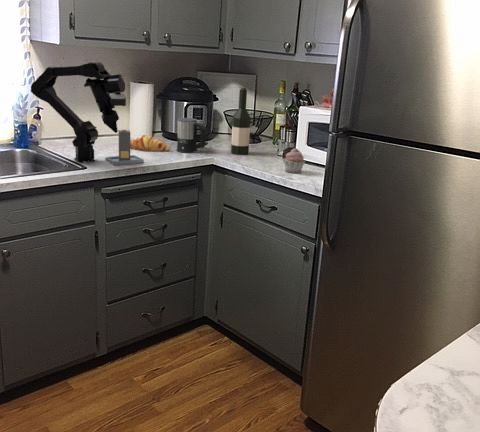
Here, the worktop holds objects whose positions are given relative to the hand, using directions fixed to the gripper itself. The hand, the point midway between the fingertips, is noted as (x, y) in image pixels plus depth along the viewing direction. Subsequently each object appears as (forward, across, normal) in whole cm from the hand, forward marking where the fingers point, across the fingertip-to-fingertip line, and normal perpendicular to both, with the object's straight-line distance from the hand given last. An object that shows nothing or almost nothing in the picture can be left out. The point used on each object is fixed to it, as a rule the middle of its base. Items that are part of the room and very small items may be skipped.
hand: (114, 127), depth 233 cm
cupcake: (+30, -33, -61) cm, 76 cm away
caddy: (+11, -9, +1) cm, 14 cm away
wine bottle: (+36, +3, -49) cm, 61 cm away
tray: (+12, -9, +2) cm, 15 cm away
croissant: (+24, +15, -10) cm, 30 cm away
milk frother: (+31, +12, -29) cm, 44 cm away
